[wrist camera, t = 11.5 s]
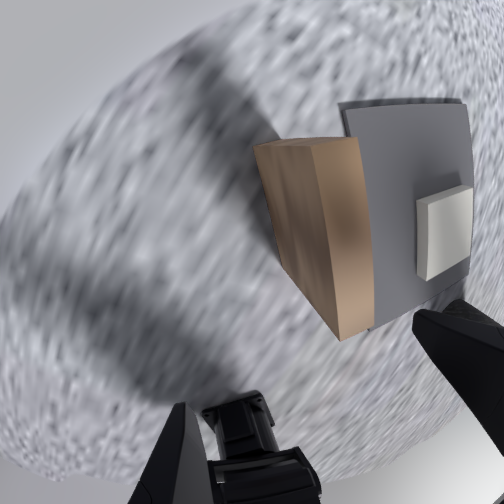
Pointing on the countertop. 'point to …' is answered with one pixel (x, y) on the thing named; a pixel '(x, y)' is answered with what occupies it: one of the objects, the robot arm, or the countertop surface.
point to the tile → (443, 230)
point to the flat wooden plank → (322, 225)
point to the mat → (408, 192)
